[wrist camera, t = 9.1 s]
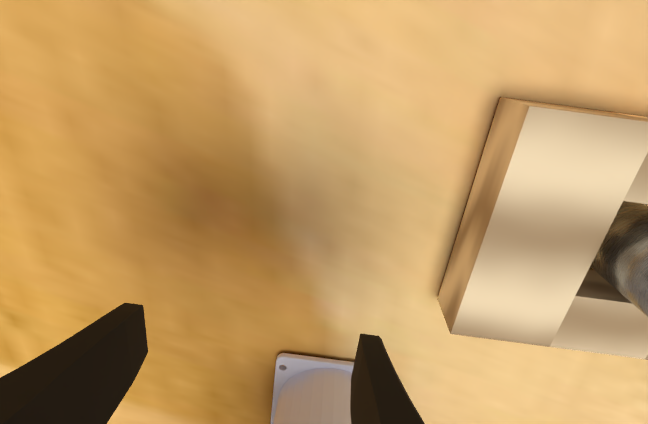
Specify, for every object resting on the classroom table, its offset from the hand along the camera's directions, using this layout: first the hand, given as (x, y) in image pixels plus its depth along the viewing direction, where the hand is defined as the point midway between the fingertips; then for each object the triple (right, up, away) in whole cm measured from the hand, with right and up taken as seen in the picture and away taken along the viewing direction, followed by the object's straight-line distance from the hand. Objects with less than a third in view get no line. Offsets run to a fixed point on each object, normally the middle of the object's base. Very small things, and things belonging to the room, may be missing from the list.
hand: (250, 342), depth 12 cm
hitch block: (+18, +3, +8) cm, 20 cm away
